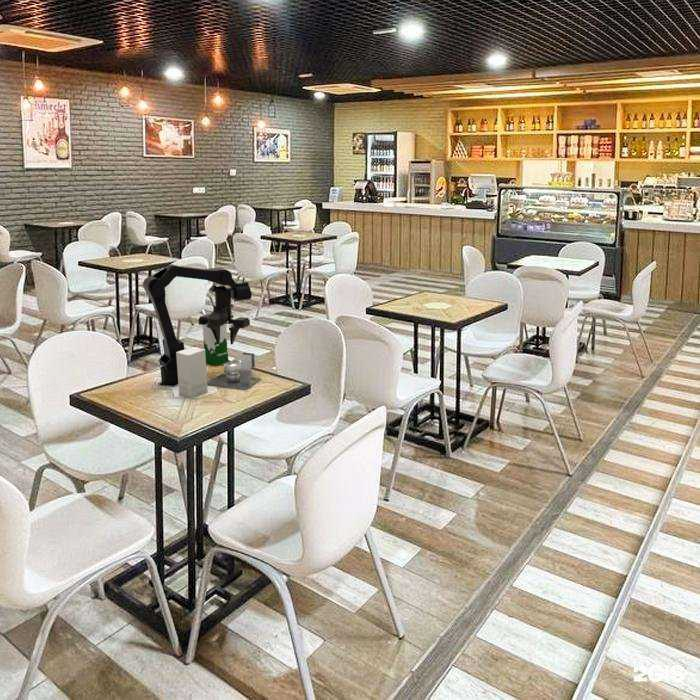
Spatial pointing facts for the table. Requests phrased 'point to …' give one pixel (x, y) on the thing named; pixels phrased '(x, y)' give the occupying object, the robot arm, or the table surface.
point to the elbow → (239, 363)
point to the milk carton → (215, 346)
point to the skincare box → (192, 372)
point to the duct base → (230, 384)
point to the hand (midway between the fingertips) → (225, 343)
